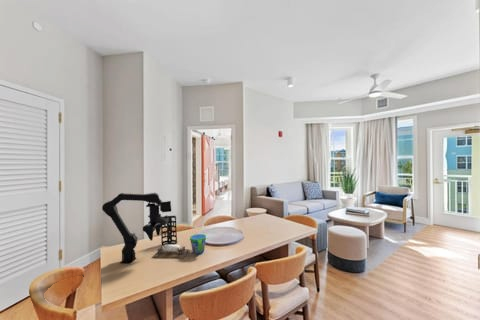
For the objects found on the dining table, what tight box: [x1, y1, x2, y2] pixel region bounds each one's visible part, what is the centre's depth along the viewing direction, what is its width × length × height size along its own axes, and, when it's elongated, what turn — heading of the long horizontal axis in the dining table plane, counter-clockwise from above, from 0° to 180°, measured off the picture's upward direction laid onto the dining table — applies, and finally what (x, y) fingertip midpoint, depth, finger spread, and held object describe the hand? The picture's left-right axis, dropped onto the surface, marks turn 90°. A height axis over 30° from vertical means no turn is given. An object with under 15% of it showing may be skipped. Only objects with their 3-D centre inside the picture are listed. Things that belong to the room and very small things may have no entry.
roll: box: [163, 244, 180, 252], centre depth 139 cm, size 10×4×4 cm, turn 86°
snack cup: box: [189, 233, 207, 255], centre depth 141 cm, size 16×10×10 cm
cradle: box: [152, 245, 190, 259], centre depth 139 cm, size 20×11×4 cm, turn 86°
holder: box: [160, 215, 178, 246], centre depth 158 cm, size 11×8×20 cm
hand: (154, 237), depth 136 cm, fingers open, 9 cm apart
